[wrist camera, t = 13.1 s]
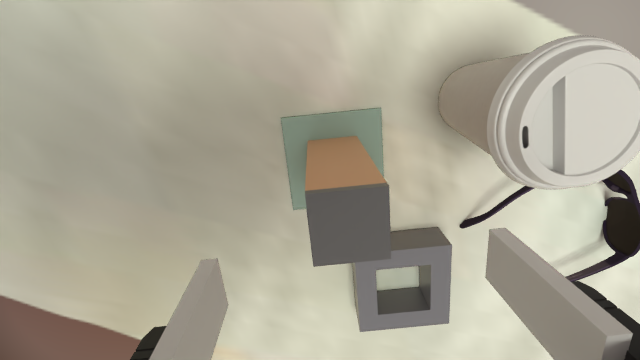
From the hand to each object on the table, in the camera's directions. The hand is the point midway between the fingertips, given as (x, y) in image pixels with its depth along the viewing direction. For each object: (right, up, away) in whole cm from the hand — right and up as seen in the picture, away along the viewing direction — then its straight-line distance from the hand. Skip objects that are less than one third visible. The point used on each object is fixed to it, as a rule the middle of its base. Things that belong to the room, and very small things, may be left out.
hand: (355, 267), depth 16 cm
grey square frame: (+7, -6, +23) cm, 25 cm away
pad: (0, +6, +19) cm, 20 cm away
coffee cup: (+13, +12, +17) cm, 25 cm away
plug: (0, +6, +19) cm, 20 cm away
